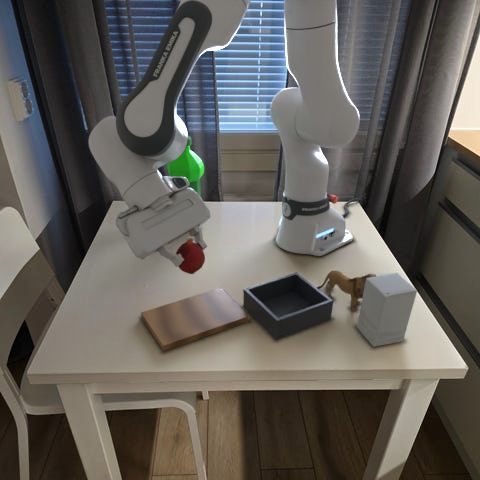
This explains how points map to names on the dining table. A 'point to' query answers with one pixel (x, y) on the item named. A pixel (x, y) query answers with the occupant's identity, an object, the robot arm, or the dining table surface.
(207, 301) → the cutting board
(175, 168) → the plastic bottle
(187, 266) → the red pomegranate
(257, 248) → the dining table surface
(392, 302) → the white packaging box
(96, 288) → the dining table surface
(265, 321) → the tub
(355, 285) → the lion figurine
